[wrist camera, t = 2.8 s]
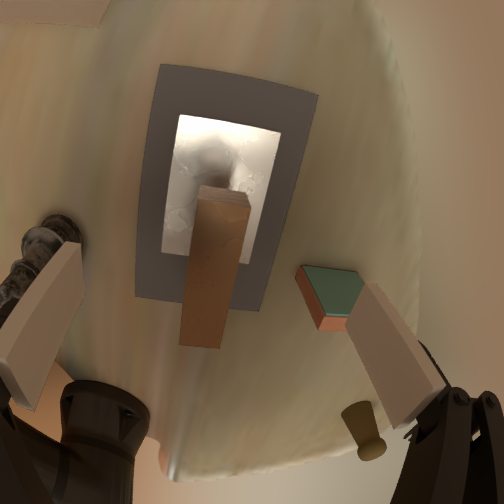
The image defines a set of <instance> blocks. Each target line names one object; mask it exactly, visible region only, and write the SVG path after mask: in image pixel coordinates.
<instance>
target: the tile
mask: <svg viewBox="0 0 504 504" xmlns="http://www.w3.org/2000/svg"><path fill="white" fill-rule="evenodd" d="M295 279H296V281H297V283H298V286H299V288H300V290H301V292H302V295H303V297H304V299H305V302H306V304H307V306H308V309H309V311H310V313H311V316H312V318H313V320H314V323H315V325H316V327H317V330H318V331H347V329H346V327H345V323H346V321H347V319H348V317H349V315H350V313H351V311H352V309H353V307H354V305H355V303H356V301H357V299H358V297H359V295H360V292H361V290H362V288H363V286H364V284H365V282H364V281H363V280H362V278H361V277H360V276H359V274H358V273H357V272H350V271H342V270H335V269H327V268H319V267H312V266H304V265H302V266H299V269H298V271H297V274H296V277H295Z"/></svg>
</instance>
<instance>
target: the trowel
mask: <svg viewBox="0 0 504 504" xmlns="http://www.w3.org/2000/svg"><path fill="white" fill-rule="evenodd" d="M280 136H281V133H280V132H276V131H271V130H267V129H262V128H258V127H253V126H248V125H243V124H238V123H233V122H227V121H221V120H216V119H210V118H203V117H197V116H190V115H182V114H181V115H180V118H179V123H178V129H177V134H176V140H175V146H174V152H173V158H172V165H171V171H170V178H169V186H168V193H167V201H166V210H165V218H164V228H163V238H162V249H161V252H163V253H170V254H177V255H184V256H189V258H188V266H187V274H186V282H185V290H184V299H183V308H182V318H181V328H180V340H179V345H186V346H195V347H205V348H216V349H220V344H221V340H222V335H223V331H224V326H225V322H226V317H227V313H228V308H229V304H230V299H231V295H232V291H233V286H234V282H235V277H236V273H237V269H238V264H239V263H244V264H249V260H250V256H251V252H252V248H253V244H254V240H255V236H256V232H257V228H258V224H259V220H260V216H261V212H262V208H263V204H264V200H265V196H266V192H267V188H268V184H269V180H270V176H271V172H272V168H273V164H274V160H275V156H276V152H277V148H278V144H279V140H280Z"/></svg>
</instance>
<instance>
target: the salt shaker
mask: <svg viewBox="0 0 504 504" xmlns="http://www.w3.org/2000/svg"><path fill="white" fill-rule="evenodd" d="M66 241H68V242H74V243H80V244H81V250H82V237H81V234H80V232H79V229H78V228H77V226H76V225H75V224H74V223H73V222H72V221H71V220H70V219H68V218H66V217H65V216H61V215H52V216H49V217H47V218H46V219H45V220H44V221H43V223H42V225H41V226H39V227H33V228H31V229H29V230H28V231H27V232H26V233H25V235H24V237H23V239H22V244H21V250H22V256H23V258H22V259H21V260H17V261H15V262H14V263H13V264H12V266H11V272H10V274H9V275H8V277H7V278H6V279H5V280H4V281H3V283H2V284H1V285H0V306H1V307H2V306H3V304H5V303H6V302H8V301H9V300H10V299H12V298H13V297H14V298H18V299H21V298H22V296H23V295H24V293H25V292H26V291H27V289H28V288H29V287H30V285H31V284H32V283H33V281H34V280H35V279H36V277H37V276H38V275H39V273H40V272H41V271H42V270H43V268H44V267H45V266H46V265H47V263H48V262H49V261H50V260H51V258H52V257H53V256H54V255H55V253H56V252H57V251H58V250H59V249H60V247H61V246H62V245H63V244H64V243H65V242H66ZM1 307H0V309H1Z"/></svg>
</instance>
